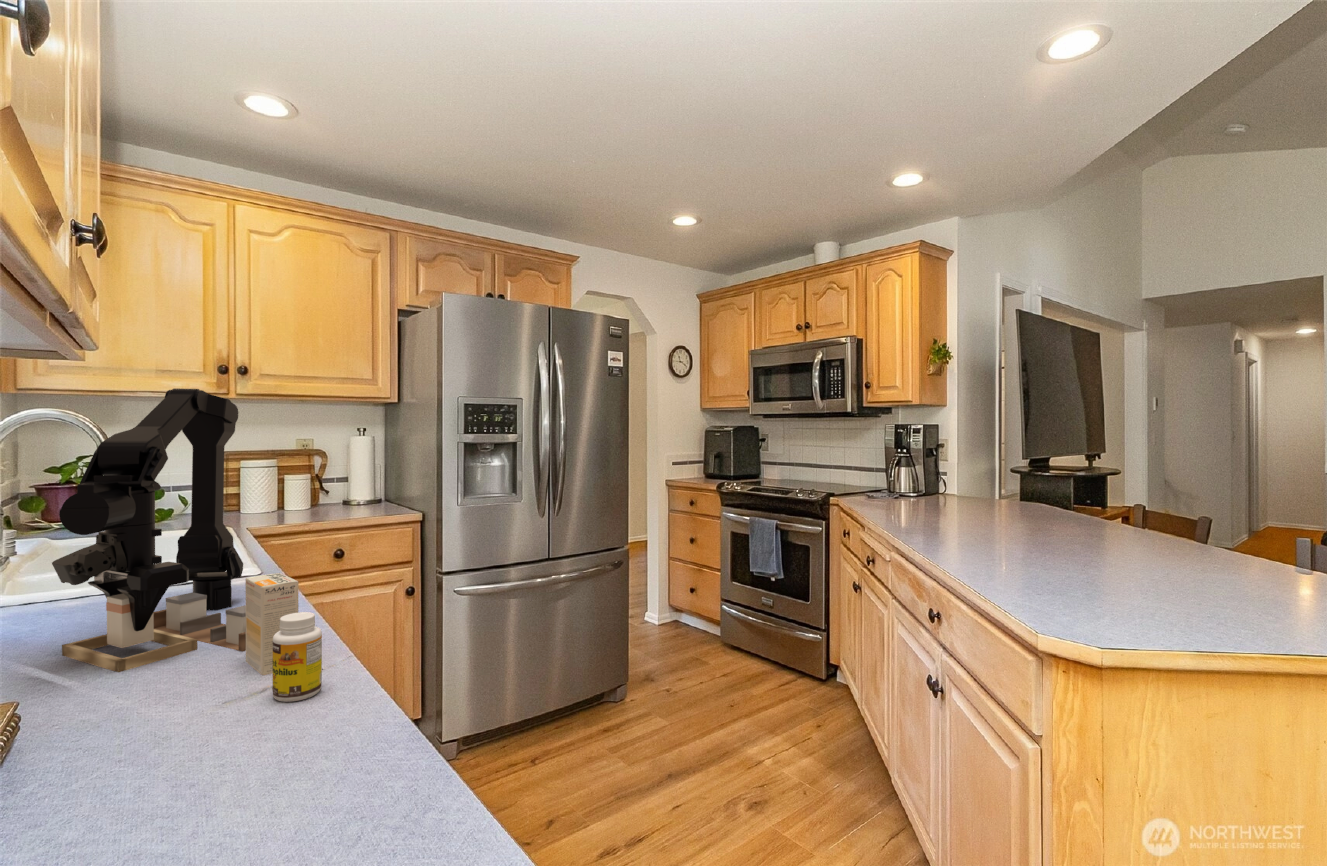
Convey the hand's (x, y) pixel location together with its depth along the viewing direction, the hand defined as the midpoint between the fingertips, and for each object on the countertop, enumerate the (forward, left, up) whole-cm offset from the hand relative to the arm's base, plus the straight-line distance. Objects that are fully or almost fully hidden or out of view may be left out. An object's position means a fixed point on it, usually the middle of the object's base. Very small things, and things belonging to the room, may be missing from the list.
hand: (130, 628), depth 96 cm
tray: (0, 0, -4) cm, 5 cm away
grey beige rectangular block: (-6, +11, -4) cm, 13 cm away
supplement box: (+23, +6, -5) cm, 24 cm away
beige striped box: (0, 0, -2) cm, 2 cm away
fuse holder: (+2, +11, -4) cm, 12 cm away
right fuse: (+10, +11, -4) cm, 15 cm away
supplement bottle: (+34, +2, -5) cm, 34 cm away
